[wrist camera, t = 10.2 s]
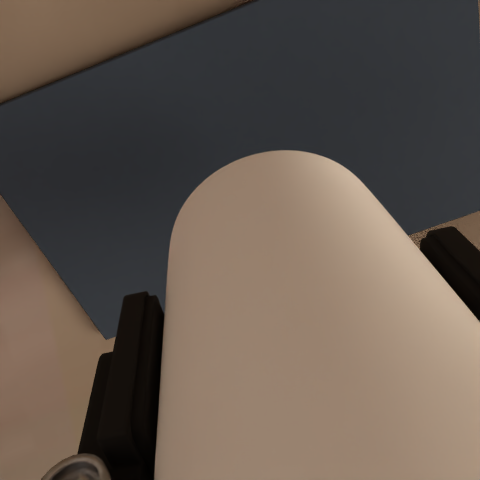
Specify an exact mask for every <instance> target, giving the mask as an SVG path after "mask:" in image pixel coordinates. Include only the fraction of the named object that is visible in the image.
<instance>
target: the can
mask: <svg viewBox="0 0 480 480" xmlns="http://www.w3.org/2000/svg"><path fill="white" fill-rule="evenodd" d="M154 480H480V322H479V320H478V319H477V318H476V317H475V316H474V314H473V313H472V312H471V311H470V310H469V308H468V307H467V306H466V305H465V304H464V302H463V301H462V300H461V299H460V298H459V296H458V295H457V294H456V293H455V292H454V290H453V289H452V288H451V287H450V286H449V284H448V283H447V282H446V281H445V280H444V278H443V277H442V276H441V275H440V274H439V272H438V271H437V270H436V269H435V268H434V266H433V265H432V264H431V263H430V262H429V260H428V259H427V258H426V257H425V256H424V254H423V253H422V252H421V251H420V250H419V248H418V247H417V246H416V245H415V244H414V242H413V241H412V240H411V239H410V238H409V236H408V235H407V234H406V233H405V232H404V231H403V229H402V228H401V227H400V226H399V225H398V223H397V222H396V221H395V220H394V219H393V217H392V216H391V215H390V214H389V213H388V212H387V210H386V209H385V208H384V207H383V206H382V204H381V203H380V202H379V201H378V200H377V199H376V198H375V196H374V195H373V194H372V193H371V192H370V191H369V189H368V188H367V187H366V186H365V185H364V184H363V183H362V182H361V181H360V180H359V179H358V178H357V177H356V176H355V175H354V174H353V173H352V172H350V171H349V170H348V169H346V168H345V167H343V166H342V165H340V164H339V163H337V162H335V161H333V160H331V159H328V158H326V157H323V156H320V155H317V154H313V153H309V152H303V151H293V150H278V151H268V152H262V153H258V154H254V155H250V156H247V157H244V158H241V159H239V160H236V161H234V162H232V163H230V164H228V165H226V166H224V167H222V168H221V169H219V170H218V171H216V172H214V173H213V174H212V175H210V176H209V177H208V178H207V179H205V180H204V181H203V182H202V183H201V184H200V185H199V186H198V187H197V188H196V189H195V190H194V191H193V192H192V194H191V195H190V196H189V197H188V199H187V200H186V202H185V203H184V205H183V206H182V208H181V210H180V212H179V214H178V216H177V218H176V221H175V224H174V227H173V230H172V235H171V240H170V248H169V258H168V271H167V284H166V299H165V313H164V329H163V344H162V360H161V375H160V391H159V407H158V423H157V439H156V455H155V472H154Z"/></svg>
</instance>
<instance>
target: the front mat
mask: <svg viewBox="0 0 480 480" xmlns="http://www.w3.org/2000/svg"><path fill="white" fill-rule="evenodd" d="M278 150H293V151H303V152H309V153H313V154H317V155H320V156H323V157H326V158H328V159H331V160H333V161H335V162H337V163H339V164H340V165H342V166H343V167H345V168H346V169H348V170H349V171H350V172H352V173H353V174H354V175H355V176H356V177H357V178H358V179H359V180H360V181H361V182H362V183H363V184H364V185H365V186H366V187H367V188H368V189H369V191H370V192H371V193H372V194H373V195H374V196H375V198H376V199H377V200H378V201H379V202H380V203H381V204H382V206H383V207H384V208H385V209H386V210H387V212H388V213H389V214H390V215H391V216H392V217H393V219H394V220H395V221H396V222H397V223H398V225H399V226H400V227H401V228H402V229H403V231H404V232H405V233H406V234H407V235H411V234H414V233H416V232H419V231H422V230H425V229H428V228H431V227H434V226H437V225H440V224H442V223H445V222H448V221H451V220H454V219H457V218H460V217H463V216H466V215H468V214H471V213H474V212H477V211H480V29H479V10H478V0H253V1H251V2H248V3H246V4H243V5H241V6H239V7H236V8H234V9H231V10H229V11H226V12H224V13H221V14H219V15H217V16H214V17H212V18H209V19H207V20H204V21H202V22H199V23H197V24H194V25H192V26H190V27H187V28H185V29H182V30H180V31H177V32H175V33H172V34H170V35H168V36H165V37H163V38H160V39H158V40H155V41H153V42H150V43H148V44H146V45H143V46H141V47H138V48H136V49H133V50H131V51H128V52H126V53H123V54H121V55H119V56H116V57H114V58H111V59H109V60H106V61H104V62H101V63H99V64H97V65H94V66H92V67H89V68H87V69H84V70H82V71H79V72H77V73H75V74H72V75H70V76H67V77H65V78H62V79H60V80H57V81H55V82H53V83H50V84H48V85H45V86H43V87H40V88H38V89H35V90H33V91H30V92H28V93H26V94H23V95H21V96H18V97H16V98H13V99H11V100H8V101H6V102H4V103H1V104H0V194H1V196H2V197H3V198H4V200H5V201H6V203H7V204H8V205H9V207H10V208H11V209H12V211H13V212H14V214H15V215H16V216H17V218H18V219H19V221H20V222H21V223H22V225H23V226H24V227H25V229H26V230H27V232H28V233H29V234H30V236H31V237H32V238H33V240H34V241H35V243H36V244H37V245H38V247H39V248H40V250H41V251H42V252H43V254H44V255H45V256H46V258H47V259H48V261H49V262H50V263H51V265H52V266H53V267H54V269H55V270H56V272H57V273H58V274H59V276H60V277H61V279H62V280H63V281H64V283H65V284H66V285H67V287H68V288H69V290H70V291H71V292H72V294H73V295H74V296H75V298H76V299H77V301H78V302H79V303H80V305H81V306H82V308H83V309H84V310H85V312H86V313H87V314H88V316H89V317H90V319H91V320H92V321H93V323H94V324H95V325H96V327H97V328H98V330H99V331H100V332H101V334H102V335H103V337H104V338H105V339H106V340H107V339H110V338H113V337H116V333H117V328H118V323H119V318H120V313H121V307H122V302H123V298H124V296H125V295H129V294H134V293H139V292H143V291H147V292H148V293H149V295H150V296H152V295H157V297H158V299H159V302H160V305H161V307H162V310H163V313H165V299H166V284H167V271H168V258H169V248H170V240H171V235H172V230H173V227H174V224H175V221H176V218H177V216H178V214H179V212H180V210H181V208H182V206H183V205H184V203H185V202H186V200H187V199H188V197H189V196H190V195H191V194H192V192H193V191H194V190H195V189H196V188H197V187H198V186H199V185H200V184H201V183H202V182H203V181H204V180H205V179H207V178H208V177H209V176H210V175H212V174H213V173H214V172H216V171H218V170H219V169H221V168H222V167H224V166H226V165H228V164H230V163H232V162H234V161H236V160H239V159H241V158H244V157H247V156H250V155H254V154H258V153H262V152H268V151H278Z"/></svg>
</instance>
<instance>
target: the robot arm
mask: <svg viewBox="0 0 480 480" xmlns="http://www.w3.org/2000/svg"><path fill="white" fill-rule="evenodd" d="M420 251H421V252H422V253H423V254H424V256H425V257H426V258H427V259H428V260H429V262H430V263H431V264H432V265H433V266H434V268H435V269H436V270H437V271H438V272H439V274H440V275H441V276H442V277H443V278H444V280H445V281H446V282H447V283H448V284H449V286H450V287H451V288H452V289H453V290H454V292H455V293H456V294H457V295H458V296H459V298H460V299H461V300H462V301H463V302H464V304H465V305H466V306H467V307H468V308H469V310H470V311H471V312H472V313H473V314H474V316H475V317H476V318H477V319H478V320H479V322H480V251H479V250H478V249H477V248H476V247H475V246H474V245H473V244H472V243H471V242H470V241H469V240H468V239H467V238H466V237H464V236H463V235H462V234H461V233H460V232H459V231H458V230H457V229H456V228H455V227H452V226H450V227H446V228H441V229H436V230H431V231H429V232H428V233H427V236H426V238H422V239H421V242H420ZM163 329H164V313H163V310H162V307H161V305H160V302H159V299H158V297H157V295H152V296H150V295H149V293H148V292H147V291H143V292H139V293H134V294H129V295H125V296H124V298H123V302H122V307H121V313H120V318H119V323H118V328H117V333H116V339H115V344H114V349H113V352H109V353H104V354H102V355H101V356H100V358H99V361H98V365H97V369H96V374H95V378H94V383H93V387H92V392H91V396H90V401H89V405H88V410H87V414H86V418H85V423H84V427H83V432H82V436H81V441H80V445H79V450H78V454H77V455H73V456H70V457H68V458H66V459H64V460H62V461H60V462H59V463H58V464H56V465H55V466H53V467H52V468H51V469H50V470H49V471H48V472H47V473H46V474H45V475H44V476H43V478H42V479H41V480H154V472H155V455H156V439H157V423H158V407H159V391H160V375H161V360H162V344H163Z"/></svg>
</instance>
